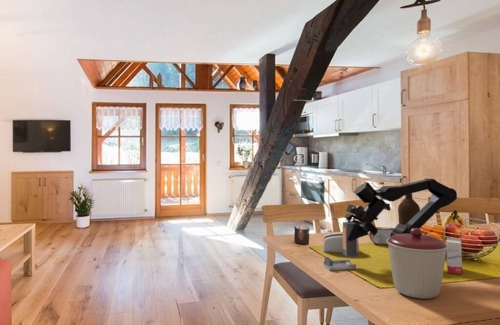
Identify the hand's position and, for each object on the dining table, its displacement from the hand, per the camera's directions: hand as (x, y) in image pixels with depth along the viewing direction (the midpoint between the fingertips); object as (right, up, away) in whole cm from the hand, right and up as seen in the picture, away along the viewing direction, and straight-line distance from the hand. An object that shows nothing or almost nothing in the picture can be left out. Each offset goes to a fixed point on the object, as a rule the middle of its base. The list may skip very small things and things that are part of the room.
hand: (346, 239), depth 137 cm
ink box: (+40, -11, -6) cm, 42 cm away
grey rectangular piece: (-3, -11, 0) cm, 12 cm away
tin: (+29, -10, +33) cm, 45 cm away
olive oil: (+46, -10, +44) cm, 65 cm away
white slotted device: (+4, -11, +22) cm, 25 cm away
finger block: (+1, -7, 0) cm, 7 cm away
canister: (+15, -12, -26) cm, 32 cm away
